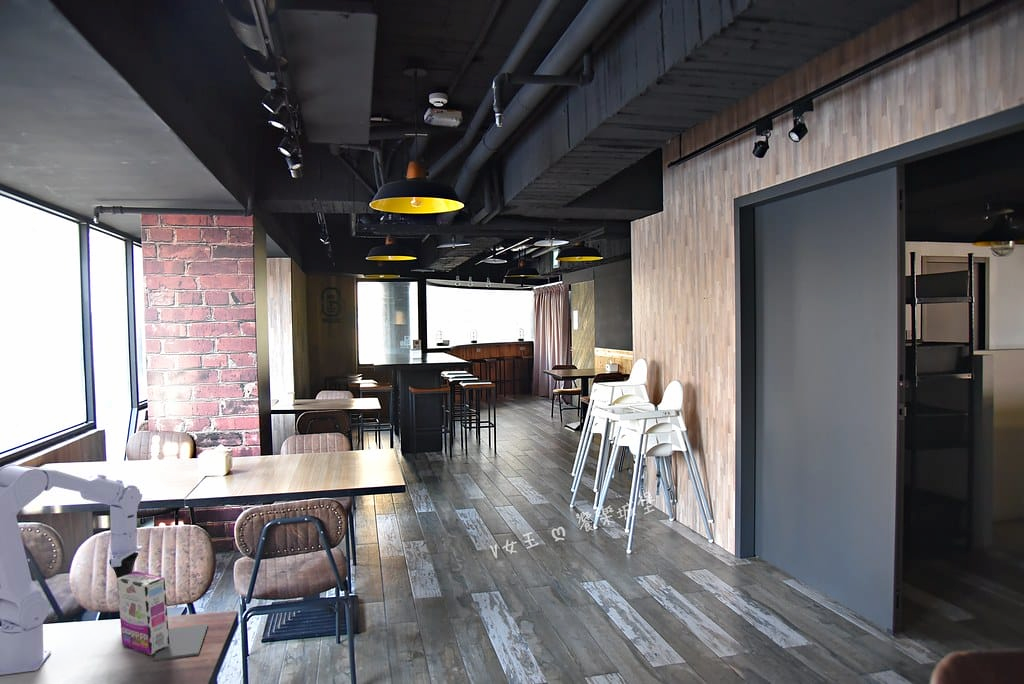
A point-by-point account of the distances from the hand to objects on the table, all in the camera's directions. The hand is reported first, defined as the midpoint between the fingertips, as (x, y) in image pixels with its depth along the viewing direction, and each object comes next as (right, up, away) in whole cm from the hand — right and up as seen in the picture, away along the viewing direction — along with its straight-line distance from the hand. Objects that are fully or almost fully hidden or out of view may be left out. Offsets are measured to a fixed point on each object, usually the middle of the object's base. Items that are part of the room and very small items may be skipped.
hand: (124, 584), depth 165 cm
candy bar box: (+13, -10, -13) cm, 21 cm away
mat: (+20, -10, -11) cm, 25 cm away
